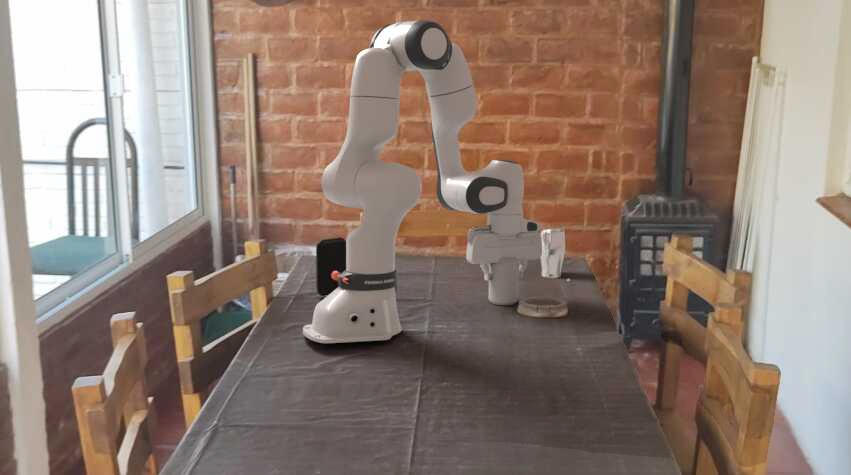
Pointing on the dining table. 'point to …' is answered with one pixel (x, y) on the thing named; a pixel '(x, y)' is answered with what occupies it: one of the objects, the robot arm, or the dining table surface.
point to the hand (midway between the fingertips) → (503, 278)
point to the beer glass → (552, 252)
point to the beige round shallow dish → (542, 307)
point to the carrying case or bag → (329, 263)
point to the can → (504, 282)
